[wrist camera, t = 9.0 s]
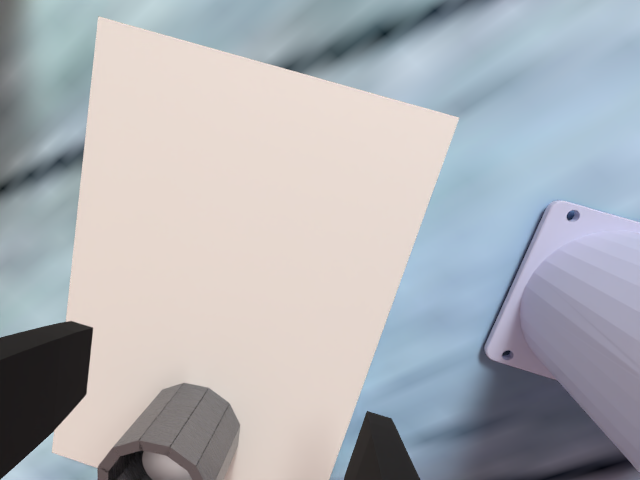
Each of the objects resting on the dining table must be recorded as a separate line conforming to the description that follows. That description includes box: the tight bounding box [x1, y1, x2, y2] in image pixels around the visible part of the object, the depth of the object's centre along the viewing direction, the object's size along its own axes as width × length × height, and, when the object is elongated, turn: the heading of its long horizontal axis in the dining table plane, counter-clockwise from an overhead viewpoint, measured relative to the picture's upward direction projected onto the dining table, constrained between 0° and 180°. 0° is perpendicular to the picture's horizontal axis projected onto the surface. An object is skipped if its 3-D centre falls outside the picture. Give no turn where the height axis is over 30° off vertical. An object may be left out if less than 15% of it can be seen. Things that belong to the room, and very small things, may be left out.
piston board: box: [52, 16, 459, 480], centre depth 17 cm, size 16×24×3 cm, turn 164°
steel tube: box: [98, 383, 240, 480], centre depth 18 cm, size 5×5×4 cm
